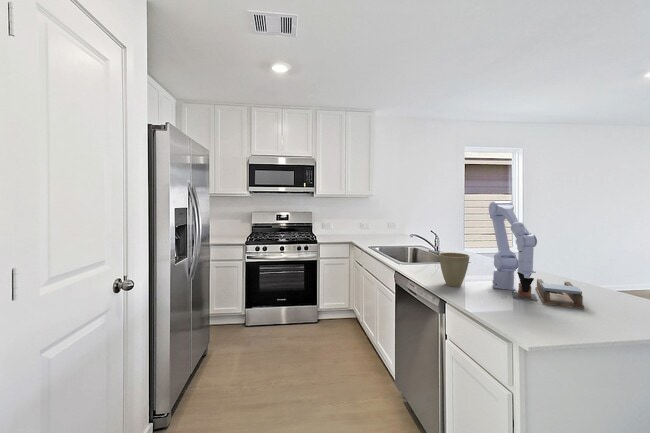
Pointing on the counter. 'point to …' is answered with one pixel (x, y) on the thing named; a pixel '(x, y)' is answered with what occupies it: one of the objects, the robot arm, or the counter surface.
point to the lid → (561, 288)
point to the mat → (516, 296)
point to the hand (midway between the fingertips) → (524, 290)
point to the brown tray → (559, 297)
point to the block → (524, 294)
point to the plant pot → (454, 267)
